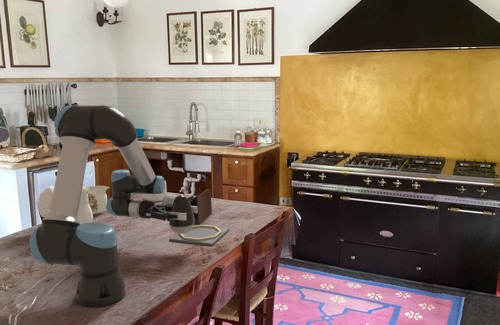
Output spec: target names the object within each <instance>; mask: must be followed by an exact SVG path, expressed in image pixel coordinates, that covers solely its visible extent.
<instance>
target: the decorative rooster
mask: <svg viewBox="0 0 500 325" xmlns="http://www.w3.org/2000/svg"><path fill="white" fill-rule="evenodd" d="M54 186H55V185H54ZM54 186H53V185H50V186H48V187H46V188H45V189H44V190H43V191H42V192H40V194H39V195H38V199H37V200H38V201H36V206H37V209H38V212H39V214H40V216H41V217H42V218H45V217H47V216H48V215H49V211H50V206H51V201H52V196H53V191H54ZM85 188H86V187H85V186H84V185H83V186H82V192H81V197H80V203H79V209H78V214H77V220H78V221H79V222H80V225H81V224H84V223H92V222H94V221H93V220H94V214H92V210H91V208H90V206H89V203H88V194H87V193H88V191H89V190H87V189H85Z"/></svg>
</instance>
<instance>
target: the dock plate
mask: <svg viewBox="0 0 500 325" xmlns="http://www.w3.org/2000/svg"><path fill="white" fill-rule="evenodd" d="M228 232H230V228H229V227H219V226H215V225H207V224H199V225H193V228H192V229H191V230H190V231H189V232H187V233H183V234H179V233H175V234H174V235H173V236H170V237H169V240H168V242H174V243H185V244H195V245H201V246H202V245H204V246H212V247H213V246H214V245H215V244H216V243H217V242H219V240H221V239H222V238H223V237H224V236H225V235H226V234H227V233H228ZM221 237H222V238H221Z"/></svg>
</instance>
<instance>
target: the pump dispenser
mask: <svg viewBox="0 0 500 325" xmlns="http://www.w3.org/2000/svg"><path fill="white" fill-rule="evenodd" d="M176 196H177V197H176V198H175V199H174V201H173V203H172V206H171V210H170V212H178V213H186V220H175V219H171V218H170V221H168V225H169V226H170V229H171V230H172V232H174V233H175V234H177V233H179V234H183V233H187V232H189V231H190V230H191V229H192V228H193V225H194V222H195V221H194V214H193V210H192V207H191V204H190V202H189V201H190V200H192V199H193V198H194V197H195V196H194V195H191V196H189V197H187V196H185V195H183V194H178V195H176ZM170 212H169V213H170Z"/></svg>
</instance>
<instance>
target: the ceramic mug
mask: <svg viewBox="0 0 500 325" xmlns="http://www.w3.org/2000/svg"><path fill="white" fill-rule="evenodd" d="M177 196H178V195H174V194H171V193H167V194H166V195H165V196H164V198H163V201H162V203H166V204H172V203H173V201H174V199H175V198H176V197H177Z"/></svg>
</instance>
